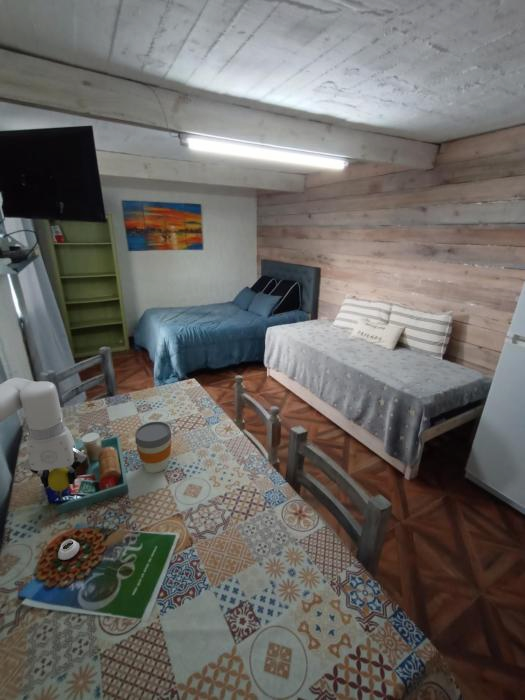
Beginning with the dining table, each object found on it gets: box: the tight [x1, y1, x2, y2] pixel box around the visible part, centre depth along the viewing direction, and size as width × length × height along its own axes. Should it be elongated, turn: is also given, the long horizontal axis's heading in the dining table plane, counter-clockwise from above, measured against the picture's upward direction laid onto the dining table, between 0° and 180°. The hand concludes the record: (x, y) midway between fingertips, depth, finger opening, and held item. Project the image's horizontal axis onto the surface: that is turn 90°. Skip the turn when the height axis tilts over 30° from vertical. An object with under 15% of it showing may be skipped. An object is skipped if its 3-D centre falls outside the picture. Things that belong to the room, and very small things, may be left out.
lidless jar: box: [57, 538, 81, 561], centre depth 86 cm, size 5×3×5 cm
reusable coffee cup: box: [134, 421, 173, 474], centre depth 117 cm, size 13×13×15 cm
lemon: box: [48, 467, 71, 492], centre depth 88 cm, size 6×6×8 cm
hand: (60, 482), depth 88 cm, fingers closed on lemon, 5 cm apart
